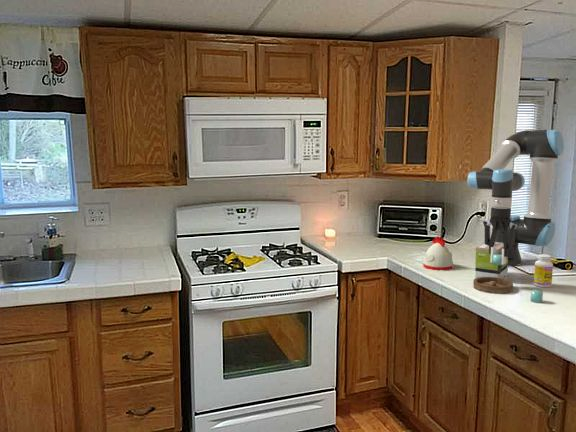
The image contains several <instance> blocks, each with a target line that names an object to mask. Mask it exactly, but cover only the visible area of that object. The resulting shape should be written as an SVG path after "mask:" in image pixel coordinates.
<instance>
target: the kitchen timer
mask: <svg viewBox="0 0 576 432" xmlns="http://www.w3.org/2000/svg"><path fill="white" fill-rule="evenodd" d="M431 240H432V245H430V247H428V249H427V250H426V253H425V254H424V258H423V263H422V265H423V266H422V267H423V268H425V269H427V270H430V269H431V270H432V271H440V270H443V271H450V270H453V269H454V261H453V254H452V252H451V251H450V250H449V249H448V247H447V246H446V245H445V244H446V240H444V237H442V236H438V235H437V236H436V237H434V239H431Z"/></svg>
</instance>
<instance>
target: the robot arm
mask: <svg viewBox="0 0 576 432" xmlns="http://www.w3.org/2000/svg"><path fill="white" fill-rule="evenodd" d="M562 134H563V133H561V132H560V131H559V130H558V129H533V130H531V129H530V130H527V129H526V130H521V131H518V132H515V133H514V134H511V135H510V136H509V137H507V138H505V139H504V140H503V141H502V142H501V144H500V145H499V149H498V150H497V151H496V152H495V153H494V154H493V155H492V156H491V158H490V159H488V161H487V162H486V163H485V164H484V165H483V166H482V167H481V168H480V169H479V171H470V172H469V174H467V180H466V181H467V186H468V187H469V188H470V189H475V190H490V191H491V201H490V203H491V205H490V206H491V208H490V218H489V220H485V221H483V226H484V242H485V245H488V246H489V254H491V259H490V262H491V263H493V254H495V253H496V246H494V243H495V242H500V243H503V244H504V248H503V249H502V259H501V264H502V265H504V264H506V257H507V256H508V267H510V266H511V267H512V266H519V265H518V264H520V265H521V264H522V255H521V253H520V248H519V244H522V245H523V244H524V245H530V246H535V247H548V245H550V244H551V242H552V241H553V239H554V237H555V233H556V224H555V223H554V222H553V221H552V217H551V215H549V210H550V202H551V201H550V198H551V190H552V189H551V188H552V181H553V169H554V163H555V162H556V161H558V157H559V156H562V154H563V153H564V148H565V147H564V146H565V145H564V144H565V143H564V138H563V135H562ZM519 156H529V160H530V161H531V162H532V169H531V179H530V188H529V196H528V197H529V199H528V206H527V213H525V215H523V219H521V216H520V215H517V214H515V215H511V214H512V209H511V207H512V197H513V196H512V195H513V192H515V191H518V190H520V189H522V188H523V187H524V186H525V182H526V181H525V177H524V176H523V175H522V174H521V173H519V172H514V171H513V170H512V169H508V168H506V167H507V166H508V165H509V164H510V163H511V162H512V160H514V159H516V158H518V157H519ZM491 226H492V229H491Z"/></svg>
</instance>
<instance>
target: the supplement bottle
mask: <svg viewBox="0 0 576 432" xmlns="http://www.w3.org/2000/svg"><path fill="white" fill-rule="evenodd" d="M537 259H538V260H536V261H535V262H534V273H533V274H534V275H533V285H534V286H536V287H540V288H550V287H551V286H552V283H553V267H554V264H553V262H552V261H551V259H552V256H551V254H550V255H549V254H541V253H540V254H537Z"/></svg>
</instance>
